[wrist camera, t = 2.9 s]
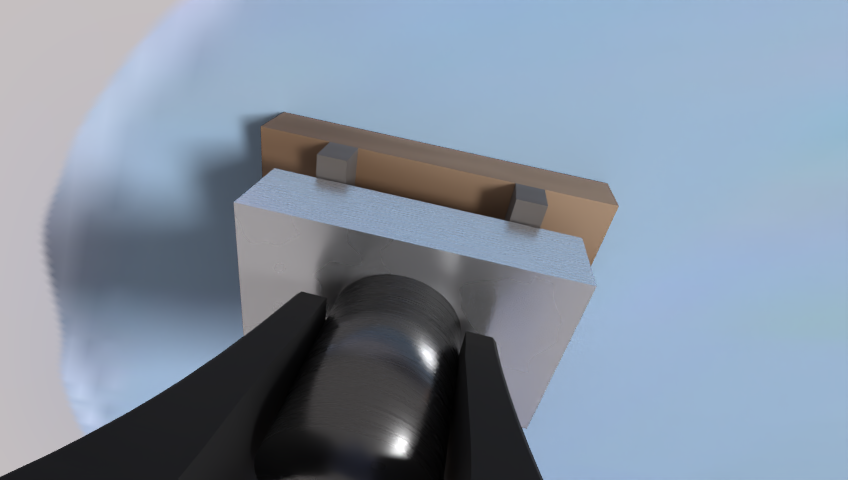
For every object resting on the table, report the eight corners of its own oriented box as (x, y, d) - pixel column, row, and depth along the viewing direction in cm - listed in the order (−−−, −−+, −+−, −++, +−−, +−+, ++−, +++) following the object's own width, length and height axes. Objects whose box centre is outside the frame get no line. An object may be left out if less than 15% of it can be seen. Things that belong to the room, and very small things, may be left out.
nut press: (466, 506, 23) (456, 640, 18) (285, 459, 23) (231, 578, 19) (607, 183, 13) (665, 300, 8) (283, 112, 13) (165, 184, 9)
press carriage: (524, 372, 14) (535, 609, 8) (277, 311, 14) (145, 505, 9) (582, 237, 11) (650, 467, 6) (274, 168, 11) (83, 326, 6)
